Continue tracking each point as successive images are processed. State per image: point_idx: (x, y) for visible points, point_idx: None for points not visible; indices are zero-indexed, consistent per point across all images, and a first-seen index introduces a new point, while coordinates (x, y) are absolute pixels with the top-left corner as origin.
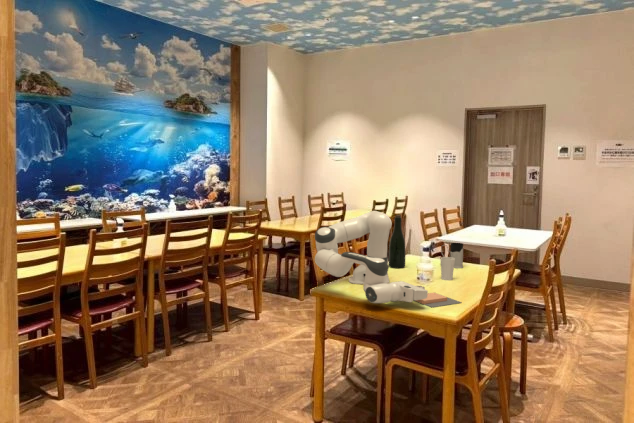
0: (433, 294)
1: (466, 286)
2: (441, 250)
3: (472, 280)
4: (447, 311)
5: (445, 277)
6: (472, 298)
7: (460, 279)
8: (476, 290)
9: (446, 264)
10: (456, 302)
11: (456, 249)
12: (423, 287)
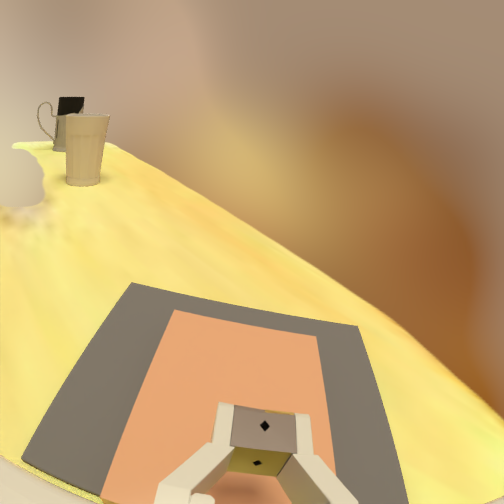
0: (211, 343)
1: (171, 200)
2: (38, 115)
3: (146, 175)
4: (484, 465)
5: (83, 177)
6: (303, 266)
7: (116, 176)
8: (224, 212)
9: (89, 133)
10: (353, 342)
11: (72, 108)
12: (310, 429)
